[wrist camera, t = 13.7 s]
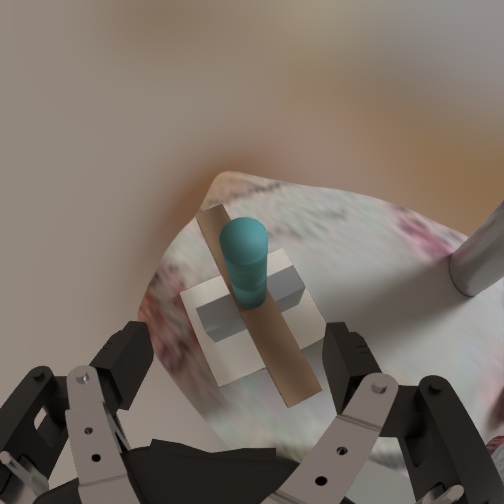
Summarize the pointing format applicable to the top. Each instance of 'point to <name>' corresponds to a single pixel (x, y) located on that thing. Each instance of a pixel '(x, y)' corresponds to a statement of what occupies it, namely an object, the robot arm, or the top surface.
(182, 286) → the top surface
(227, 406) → the top surface
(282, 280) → the ridge stand
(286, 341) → the teal peg on base
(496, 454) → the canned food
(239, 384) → the top surface
